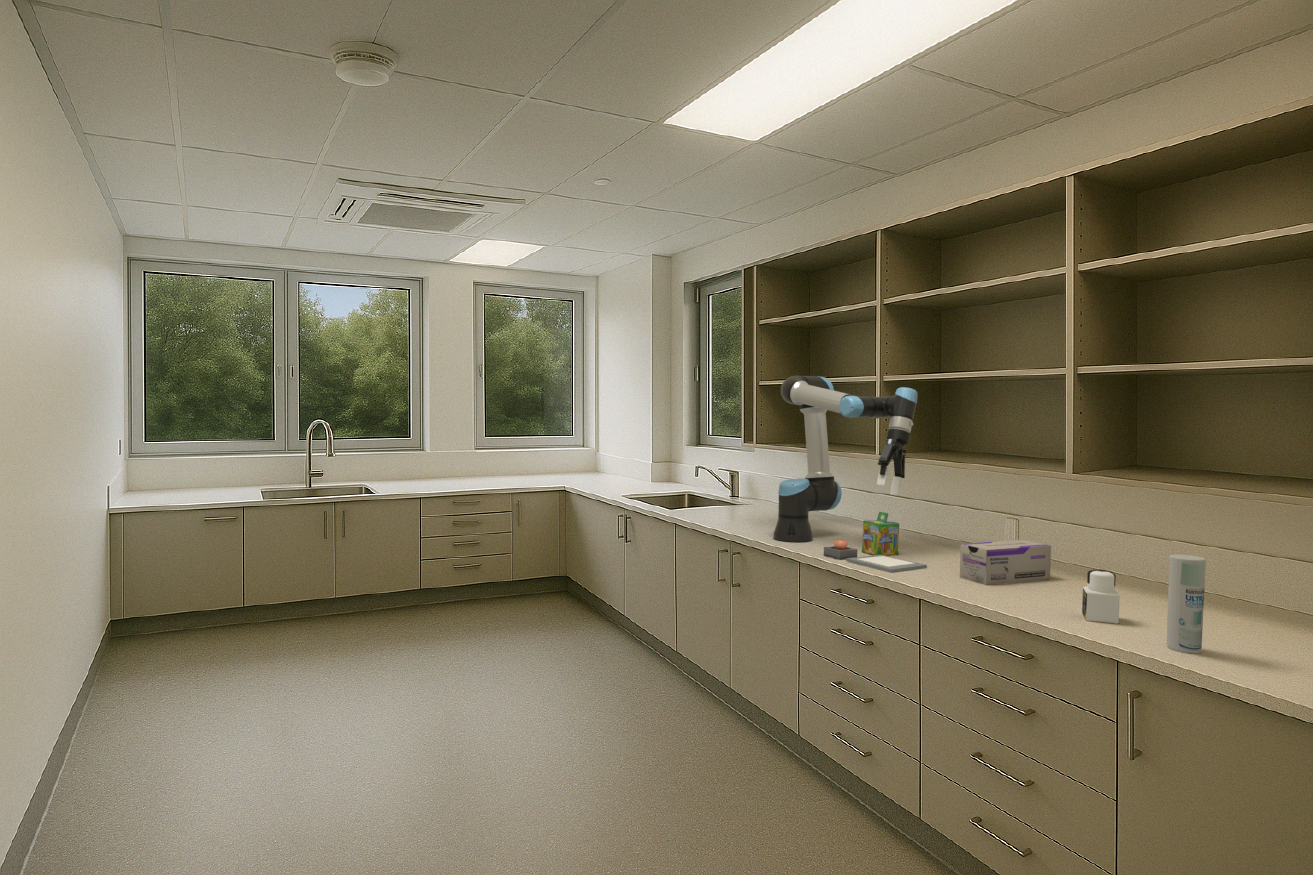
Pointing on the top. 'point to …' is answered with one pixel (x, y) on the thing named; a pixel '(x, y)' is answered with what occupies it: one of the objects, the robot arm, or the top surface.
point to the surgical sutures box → (1005, 562)
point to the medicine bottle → (1100, 597)
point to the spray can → (1185, 603)
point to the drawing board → (886, 563)
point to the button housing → (840, 553)
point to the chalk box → (880, 536)
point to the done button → (840, 544)
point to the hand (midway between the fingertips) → (887, 490)
